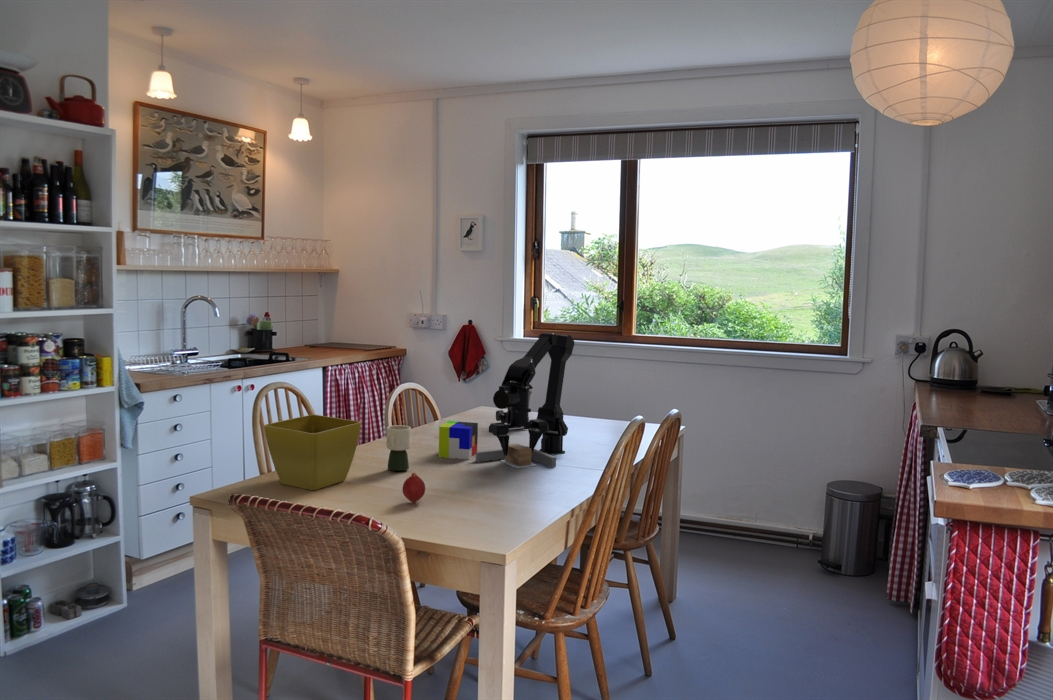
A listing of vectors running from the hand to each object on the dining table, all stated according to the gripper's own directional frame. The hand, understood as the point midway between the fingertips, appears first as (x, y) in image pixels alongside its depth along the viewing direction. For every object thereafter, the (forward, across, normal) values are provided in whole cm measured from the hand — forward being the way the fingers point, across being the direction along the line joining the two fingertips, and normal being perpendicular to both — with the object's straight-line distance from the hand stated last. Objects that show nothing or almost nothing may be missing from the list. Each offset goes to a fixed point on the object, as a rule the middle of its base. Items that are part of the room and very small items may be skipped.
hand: (518, 454), depth 244 cm
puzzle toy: (+3, +12, -18) cm, 22 cm away
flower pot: (+3, +62, -7) cm, 63 cm away
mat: (+3, 0, 0) cm, 3 cm away
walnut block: (+3, 0, 0) cm, 3 cm away
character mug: (+3, +36, -9) cm, 38 cm away
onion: (+3, +46, +23) cm, 51 cm away
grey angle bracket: (+3, +1, 0) cm, 3 cm away
